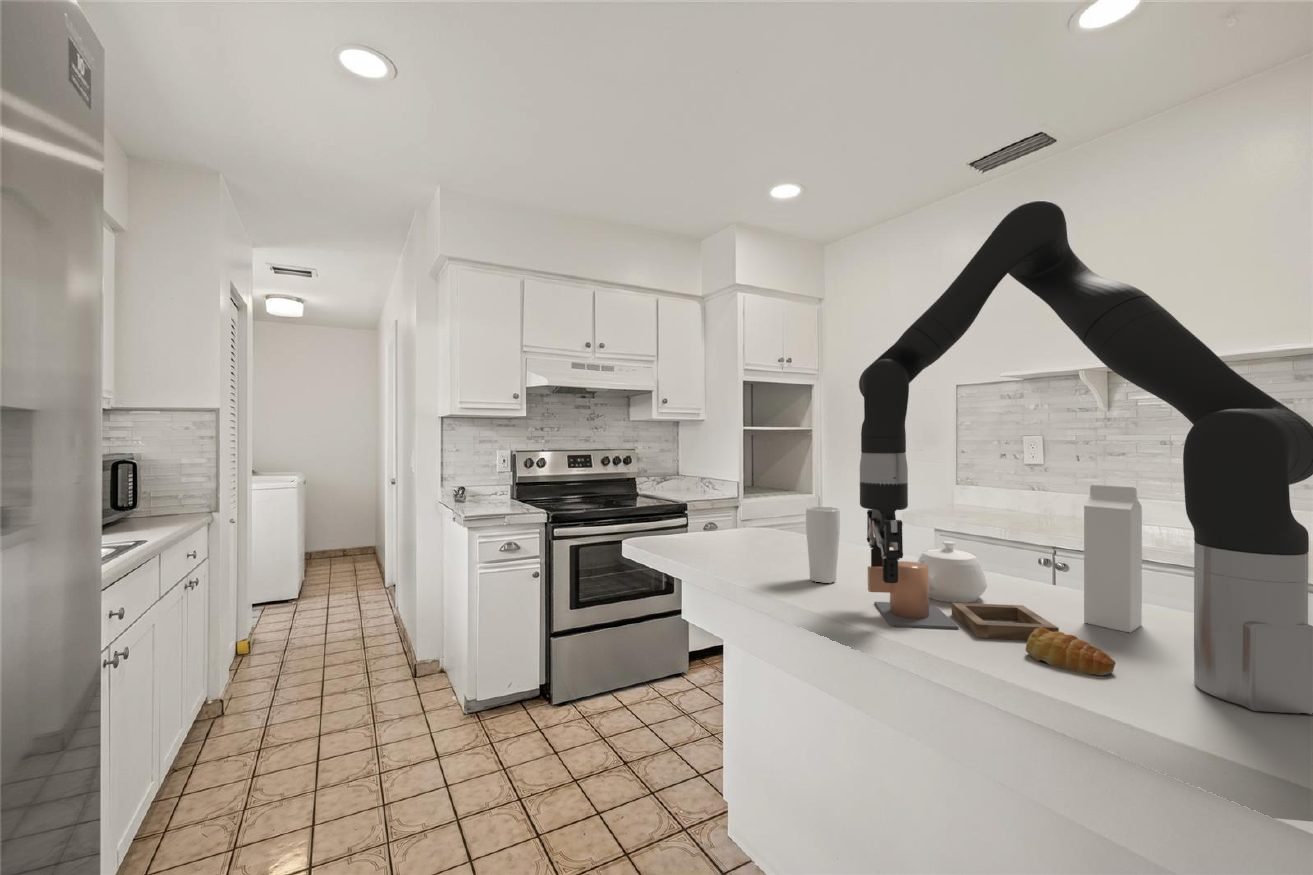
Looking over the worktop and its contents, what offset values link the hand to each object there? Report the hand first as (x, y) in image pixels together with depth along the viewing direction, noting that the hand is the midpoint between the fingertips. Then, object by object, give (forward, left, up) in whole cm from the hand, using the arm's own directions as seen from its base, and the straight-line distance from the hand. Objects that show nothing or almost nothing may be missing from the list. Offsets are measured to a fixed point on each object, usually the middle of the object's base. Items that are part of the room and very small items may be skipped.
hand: (883, 576), depth 97 cm
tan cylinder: (0, -2, -6) cm, 7 cm away
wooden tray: (-4, -17, -7) cm, 18 cm away
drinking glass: (+21, +7, -7) cm, 23 cm away
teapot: (+13, -14, -7) cm, 21 cm away
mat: (0, -5, -7) cm, 8 cm away
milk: (0, -35, -7) cm, 35 cm away
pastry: (-17, -19, -7) cm, 27 cm away
